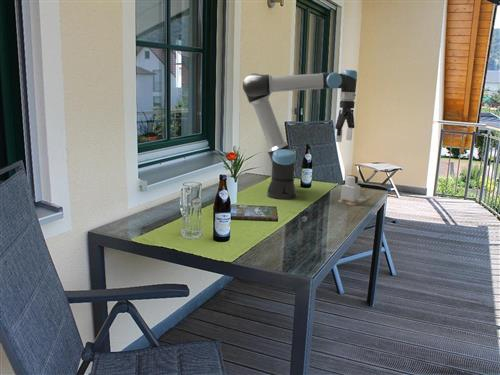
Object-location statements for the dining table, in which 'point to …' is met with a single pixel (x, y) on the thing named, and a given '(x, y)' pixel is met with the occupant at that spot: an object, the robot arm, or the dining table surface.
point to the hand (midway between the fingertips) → (343, 141)
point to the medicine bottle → (350, 189)
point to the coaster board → (354, 203)
